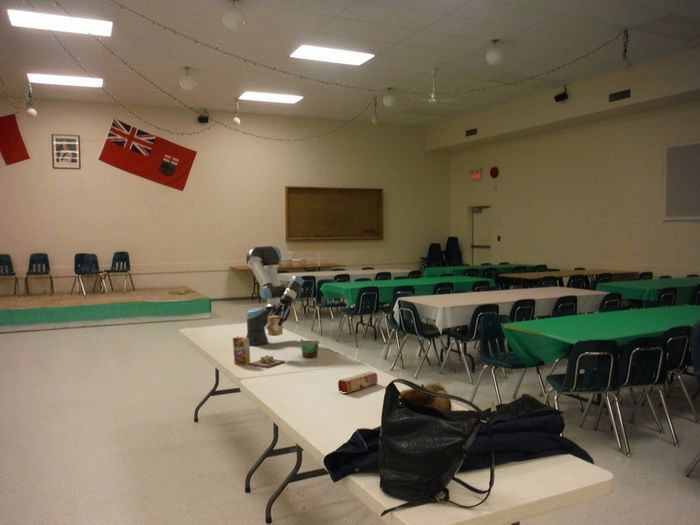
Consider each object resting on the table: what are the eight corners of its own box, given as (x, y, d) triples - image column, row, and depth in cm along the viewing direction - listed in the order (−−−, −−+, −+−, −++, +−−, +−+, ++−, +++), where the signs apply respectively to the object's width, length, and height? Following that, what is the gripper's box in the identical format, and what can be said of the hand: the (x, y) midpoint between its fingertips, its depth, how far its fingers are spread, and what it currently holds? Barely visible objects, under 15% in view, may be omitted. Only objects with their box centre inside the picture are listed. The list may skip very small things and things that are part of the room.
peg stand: (249, 365, 312) (249, 358, 312) (267, 359, 323) (266, 352, 323) (267, 368, 304) (267, 361, 303) (284, 362, 315) (284, 355, 315)
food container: (296, 357, 326) (295, 340, 325) (302, 355, 331) (301, 338, 330) (314, 359, 320) (313, 342, 319) (319, 356, 325) (319, 340, 325)
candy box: (233, 364, 316) (232, 337, 315) (238, 362, 320) (237, 336, 318) (245, 365, 311) (244, 338, 310) (250, 363, 315) (249, 337, 314)
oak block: (268, 335, 325) (267, 316, 325) (275, 333, 330) (274, 315, 330) (275, 336, 322) (275, 317, 321) (282, 334, 327) (281, 315, 326)
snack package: (369, 382, 271) (368, 369, 270) (379, 385, 266) (378, 371, 266) (337, 392, 256) (337, 378, 256) (347, 395, 252) (346, 381, 251)
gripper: (273, 293, 338) (255, 324, 326) (297, 294, 327) (279, 326, 315) (279, 301, 343) (262, 331, 331) (303, 302, 332) (286, 334, 320)
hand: (271, 329), depth 323 cm, fingers closed on oak block, 6 cm apart
